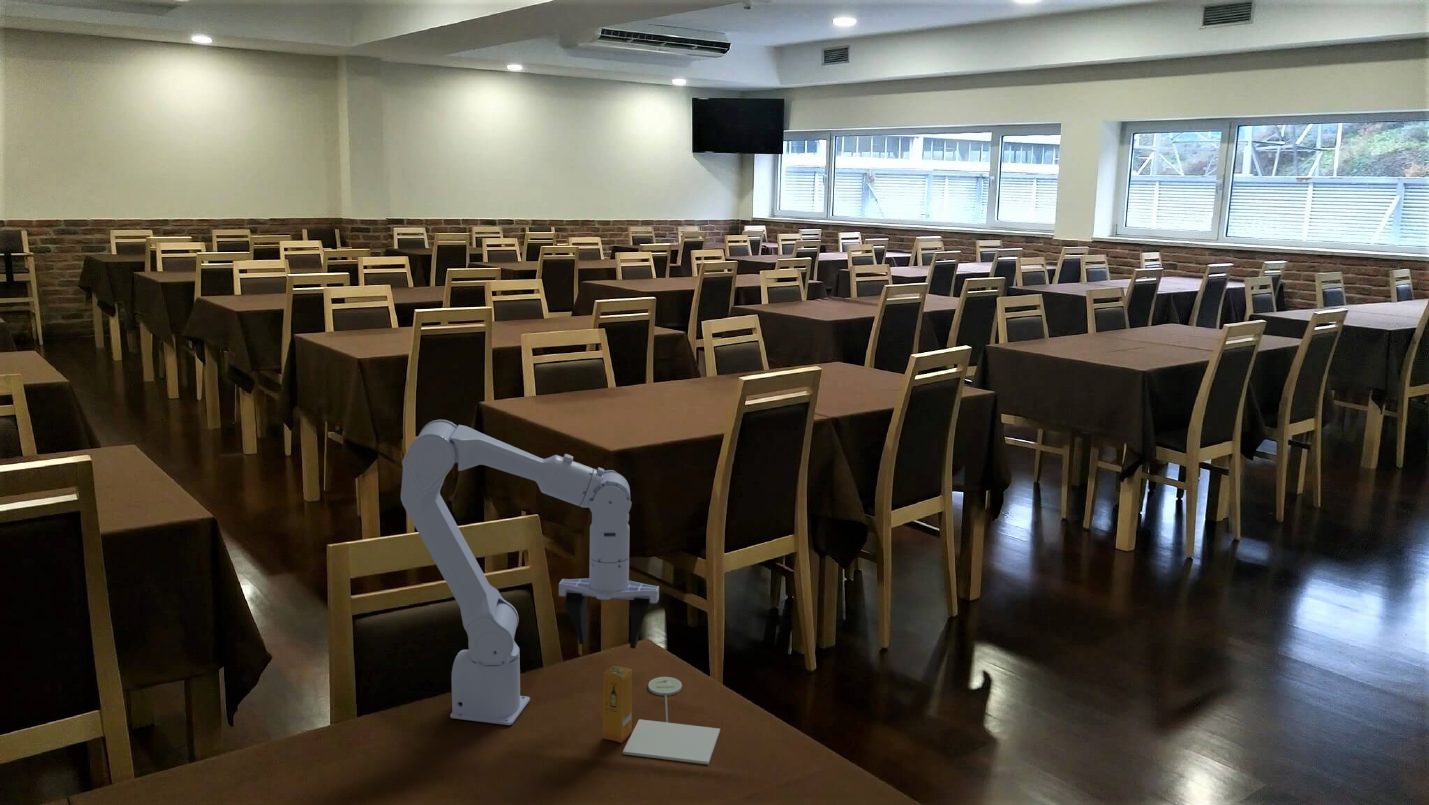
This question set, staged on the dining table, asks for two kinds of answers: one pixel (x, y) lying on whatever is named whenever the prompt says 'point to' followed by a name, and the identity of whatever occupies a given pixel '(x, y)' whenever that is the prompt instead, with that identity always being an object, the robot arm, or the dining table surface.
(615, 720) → the supplement box
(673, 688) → the sign
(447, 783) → the dining table surface
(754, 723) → the dining table surface
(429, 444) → the robot arm
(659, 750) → the mat
